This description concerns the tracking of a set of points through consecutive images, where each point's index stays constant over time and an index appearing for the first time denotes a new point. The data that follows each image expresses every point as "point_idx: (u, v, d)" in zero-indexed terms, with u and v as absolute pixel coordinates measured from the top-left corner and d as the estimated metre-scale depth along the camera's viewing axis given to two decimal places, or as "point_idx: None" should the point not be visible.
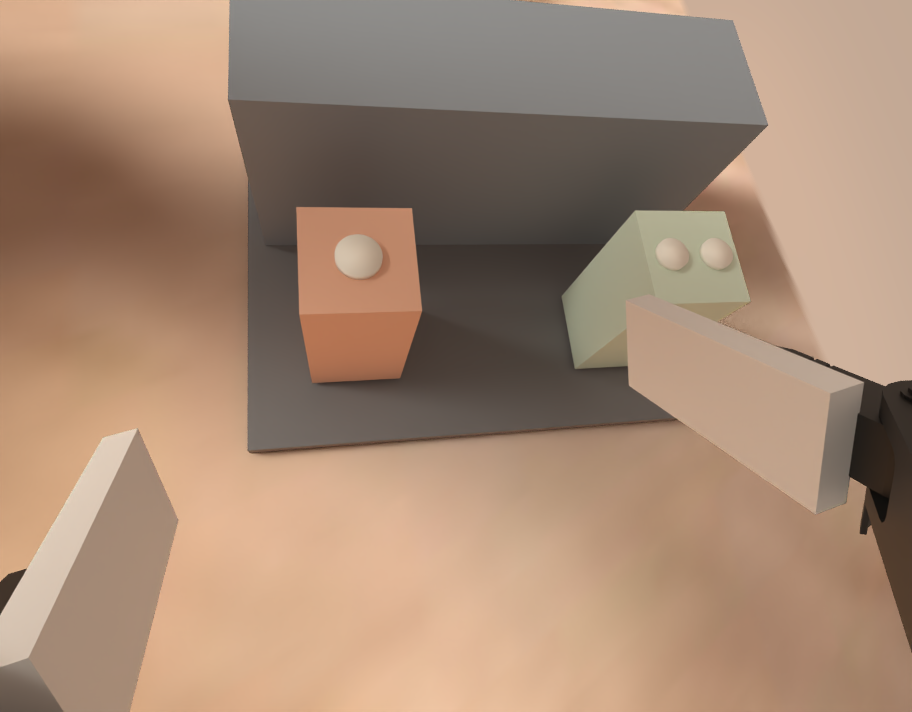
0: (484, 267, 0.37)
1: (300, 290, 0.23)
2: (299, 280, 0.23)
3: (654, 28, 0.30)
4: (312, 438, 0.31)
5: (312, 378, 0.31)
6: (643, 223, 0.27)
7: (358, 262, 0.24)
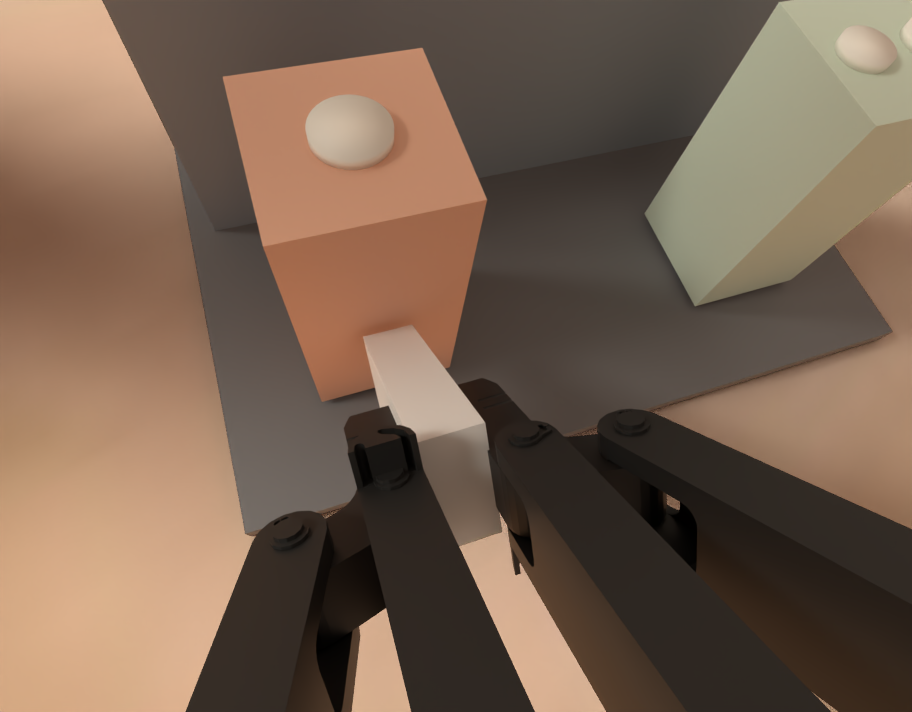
0: (528, 199, 0.26)
1: (256, 205, 0.12)
2: (251, 189, 0.12)
3: None
4: (342, 491, 0.20)
5: (320, 393, 0.20)
6: (799, 17, 0.17)
7: (352, 138, 0.13)
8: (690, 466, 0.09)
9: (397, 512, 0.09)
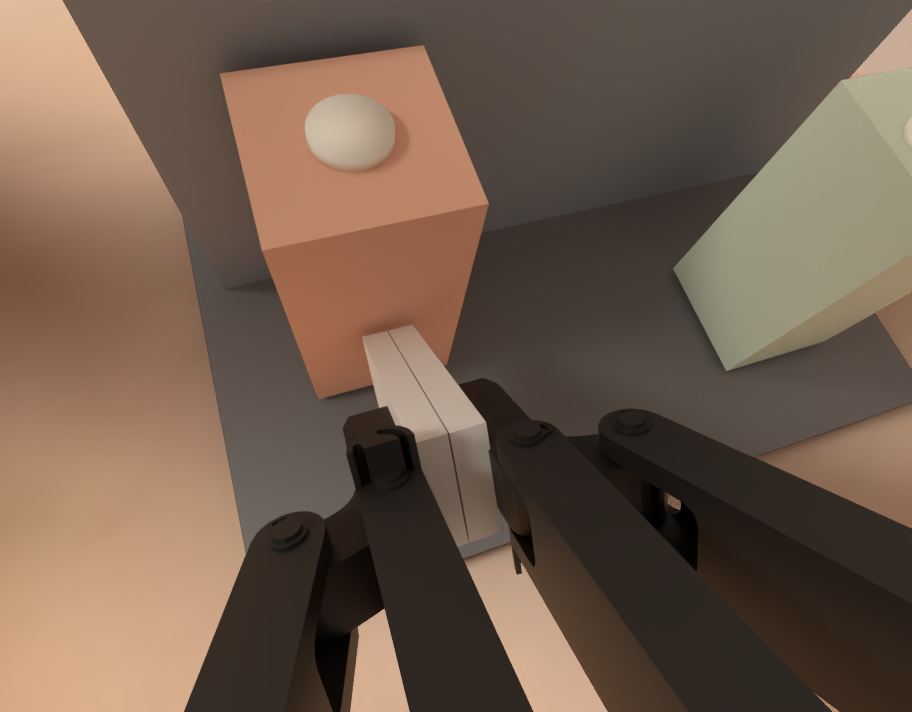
0: (551, 251, 0.25)
1: (255, 208, 0.12)
2: (250, 191, 0.12)
3: None
4: None
5: (317, 391, 0.20)
6: (863, 98, 0.15)
7: (353, 139, 0.13)
8: (691, 466, 0.09)
9: (396, 512, 0.09)
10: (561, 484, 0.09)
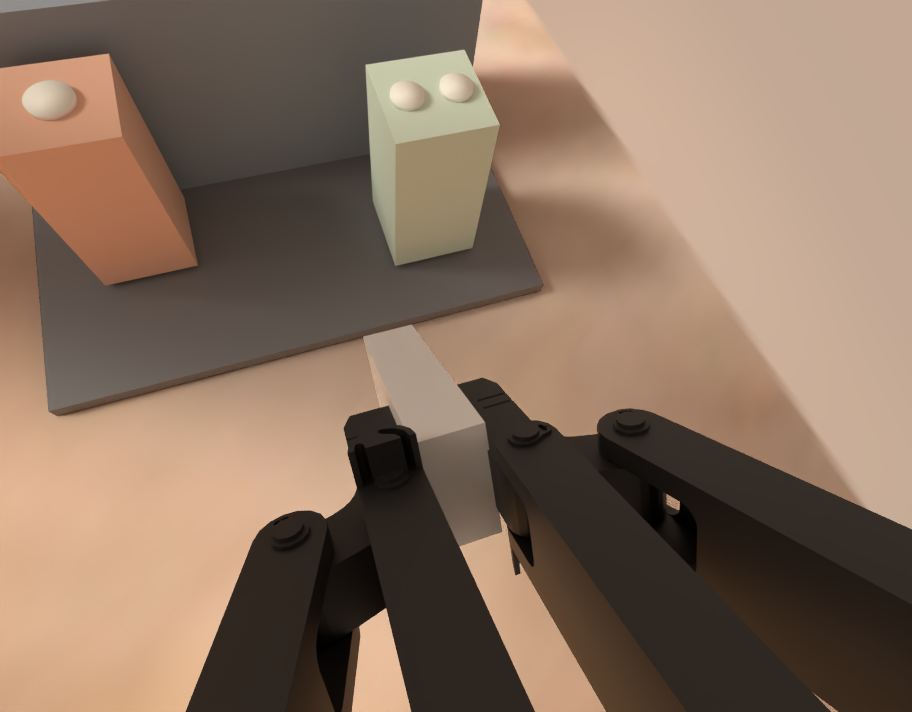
0: (289, 190, 0.36)
1: None
2: None
3: None
4: (118, 386, 0.30)
5: (98, 276, 0.31)
6: (375, 74, 0.26)
7: (47, 103, 0.24)
8: (690, 466, 0.09)
9: (397, 512, 0.09)
10: (559, 485, 0.09)
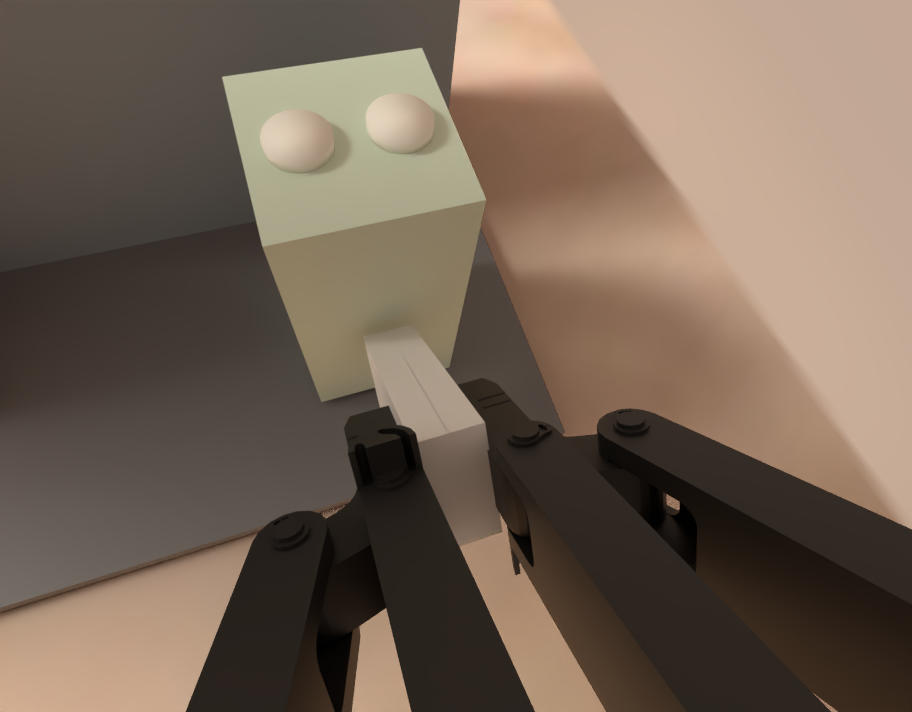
0: (161, 275, 0.23)
1: None
2: None
3: None
4: None
5: None
6: (239, 96, 0.13)
7: None
8: (690, 466, 0.09)
9: (397, 512, 0.09)
10: (560, 484, 0.09)
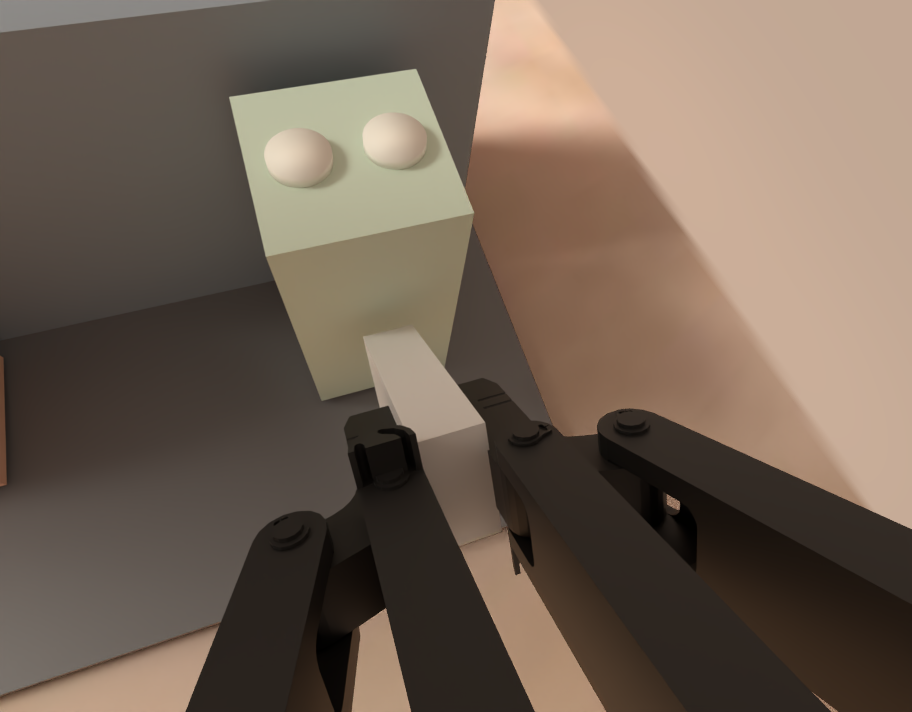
0: (178, 338, 0.23)
1: None
2: None
3: None
4: None
5: None
6: (245, 115, 0.14)
7: None
8: (690, 466, 0.09)
9: (397, 512, 0.09)
10: (560, 484, 0.09)
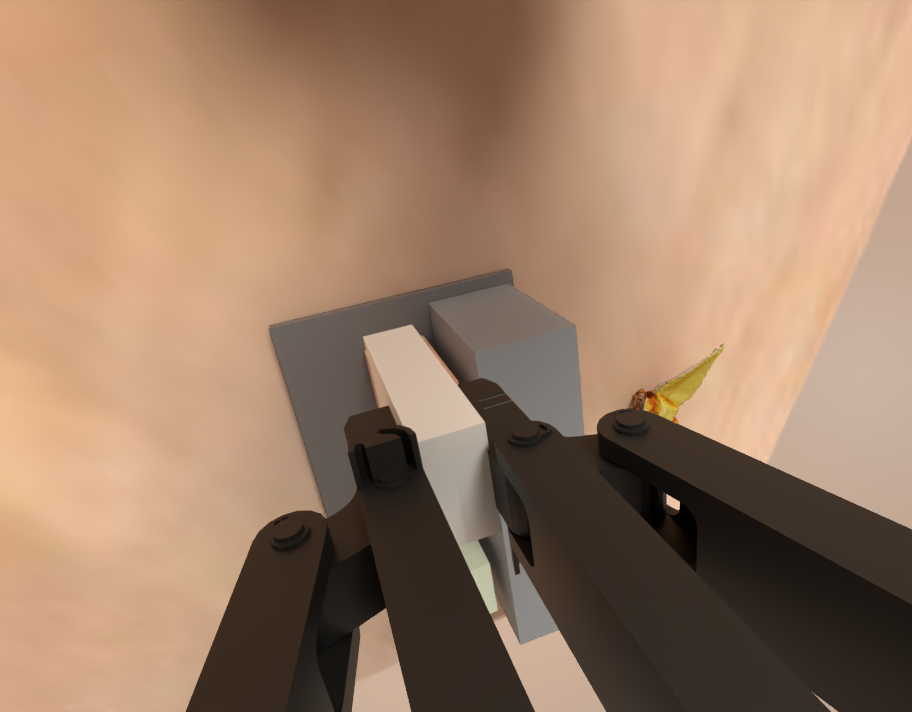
0: None
1: None
2: None
3: None
4: (286, 367, 0.44)
5: (365, 355, 0.45)
6: (481, 569, 0.44)
7: None
8: (690, 466, 0.09)
9: (397, 512, 0.09)
10: (560, 485, 0.09)
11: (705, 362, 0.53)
